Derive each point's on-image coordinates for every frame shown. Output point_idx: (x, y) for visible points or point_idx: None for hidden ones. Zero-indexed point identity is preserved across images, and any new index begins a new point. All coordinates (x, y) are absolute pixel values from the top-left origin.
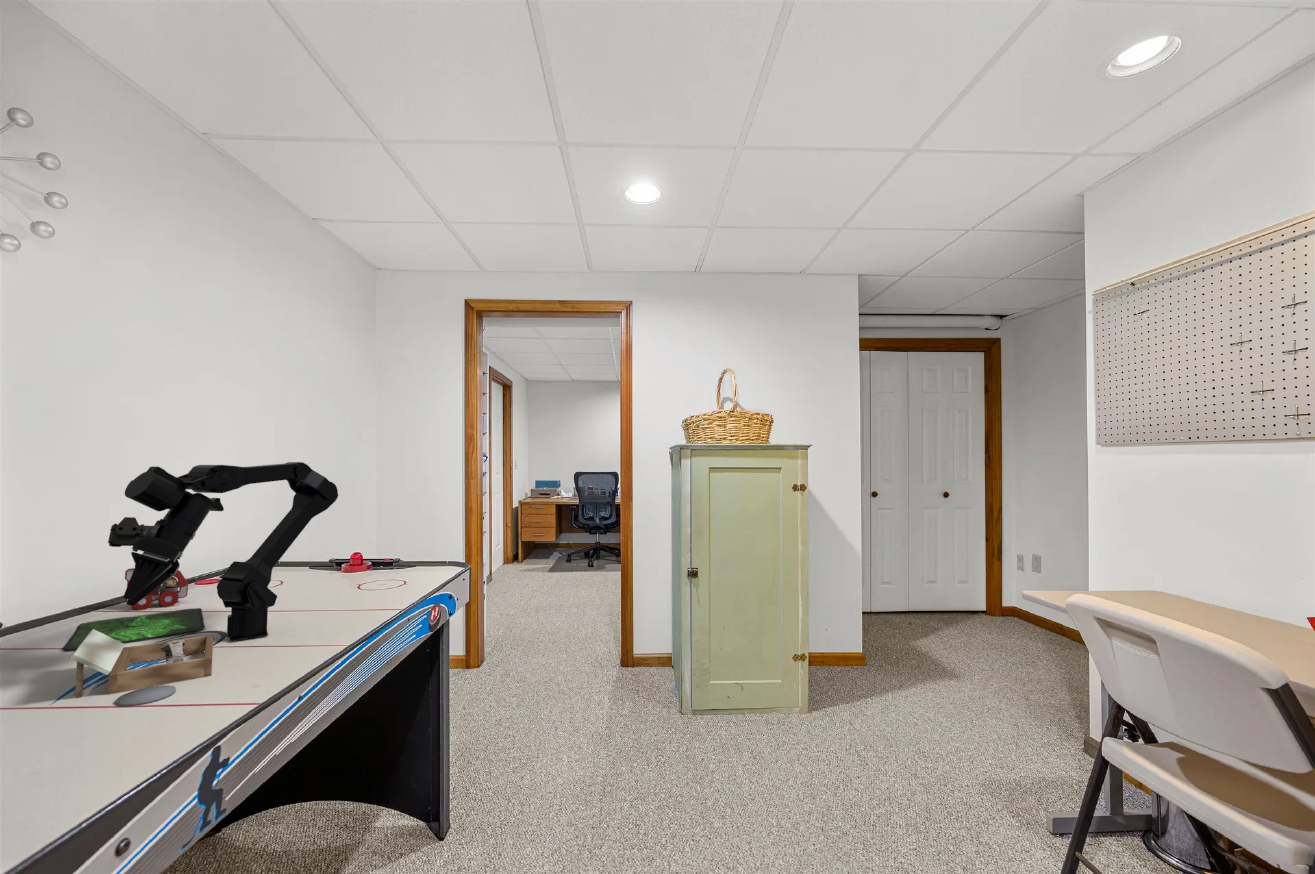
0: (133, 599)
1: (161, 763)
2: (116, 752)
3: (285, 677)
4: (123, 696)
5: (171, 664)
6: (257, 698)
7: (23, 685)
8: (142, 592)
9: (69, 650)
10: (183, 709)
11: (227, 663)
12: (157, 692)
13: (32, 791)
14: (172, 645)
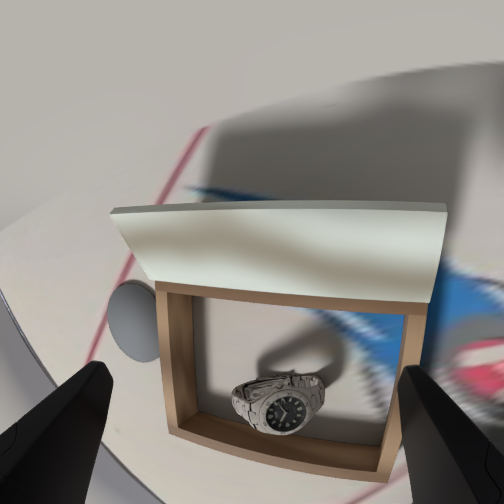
0: (406, 404)
1: (14, 309)
2: (29, 283)
3: (133, 461)
4: (139, 294)
5: (163, 377)
6: None
7: (366, 97)
8: (417, 459)
9: None
10: (80, 349)
11: None
12: (132, 337)
13: (11, 235)
14: (245, 407)
